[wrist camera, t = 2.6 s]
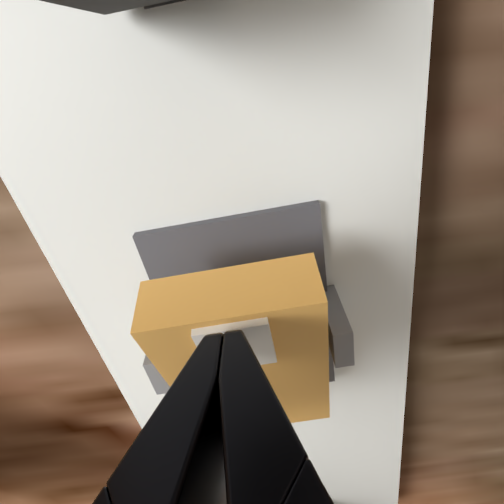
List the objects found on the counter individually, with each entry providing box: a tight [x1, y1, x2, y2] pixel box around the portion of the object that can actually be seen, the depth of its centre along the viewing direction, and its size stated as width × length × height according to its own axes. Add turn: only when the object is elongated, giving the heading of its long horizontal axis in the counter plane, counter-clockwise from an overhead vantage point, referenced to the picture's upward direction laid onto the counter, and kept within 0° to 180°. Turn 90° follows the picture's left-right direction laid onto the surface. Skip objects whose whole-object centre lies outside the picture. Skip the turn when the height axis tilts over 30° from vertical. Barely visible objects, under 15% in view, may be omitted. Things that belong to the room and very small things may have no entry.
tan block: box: [130, 252, 330, 423], centre depth 11 cm, size 5×7×2 cm
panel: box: [0, 0, 434, 504], centre depth 14 cm, size 12×35×4 cm, turn 10°
